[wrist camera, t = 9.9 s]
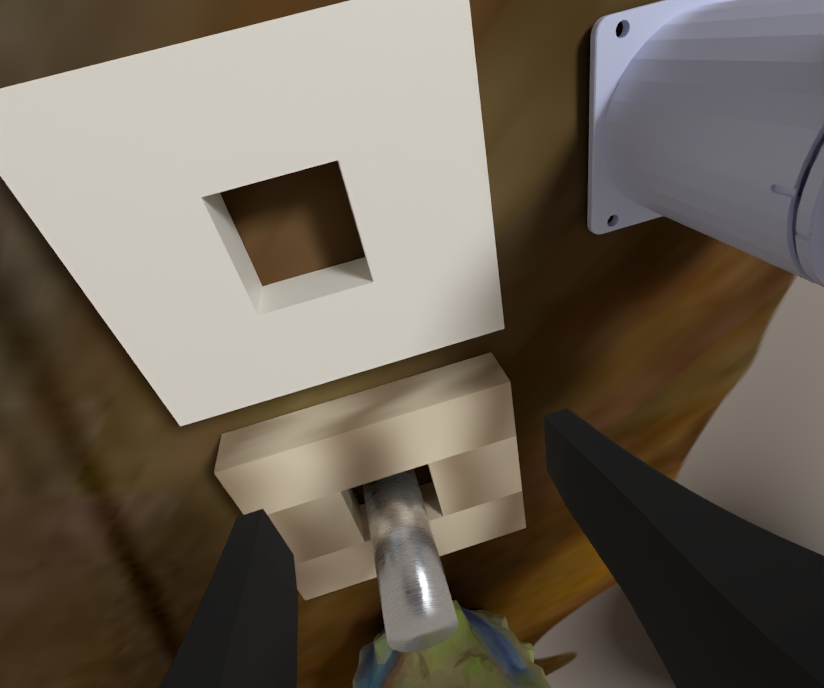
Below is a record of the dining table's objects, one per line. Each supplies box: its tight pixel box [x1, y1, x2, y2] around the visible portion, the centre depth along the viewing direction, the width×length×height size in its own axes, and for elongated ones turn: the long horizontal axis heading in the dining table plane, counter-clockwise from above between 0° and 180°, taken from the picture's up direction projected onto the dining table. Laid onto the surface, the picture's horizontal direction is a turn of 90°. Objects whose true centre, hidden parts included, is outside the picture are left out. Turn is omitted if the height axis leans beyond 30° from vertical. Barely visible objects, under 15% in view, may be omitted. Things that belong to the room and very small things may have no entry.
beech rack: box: [214, 352, 526, 601], centre depth 25 cm, size 14×12×2 cm
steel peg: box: [362, 468, 458, 652], centre depth 22 cm, size 3×3×9 cm
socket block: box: [0, 0, 505, 426], centre depth 16 cm, size 14×12×2 cm
